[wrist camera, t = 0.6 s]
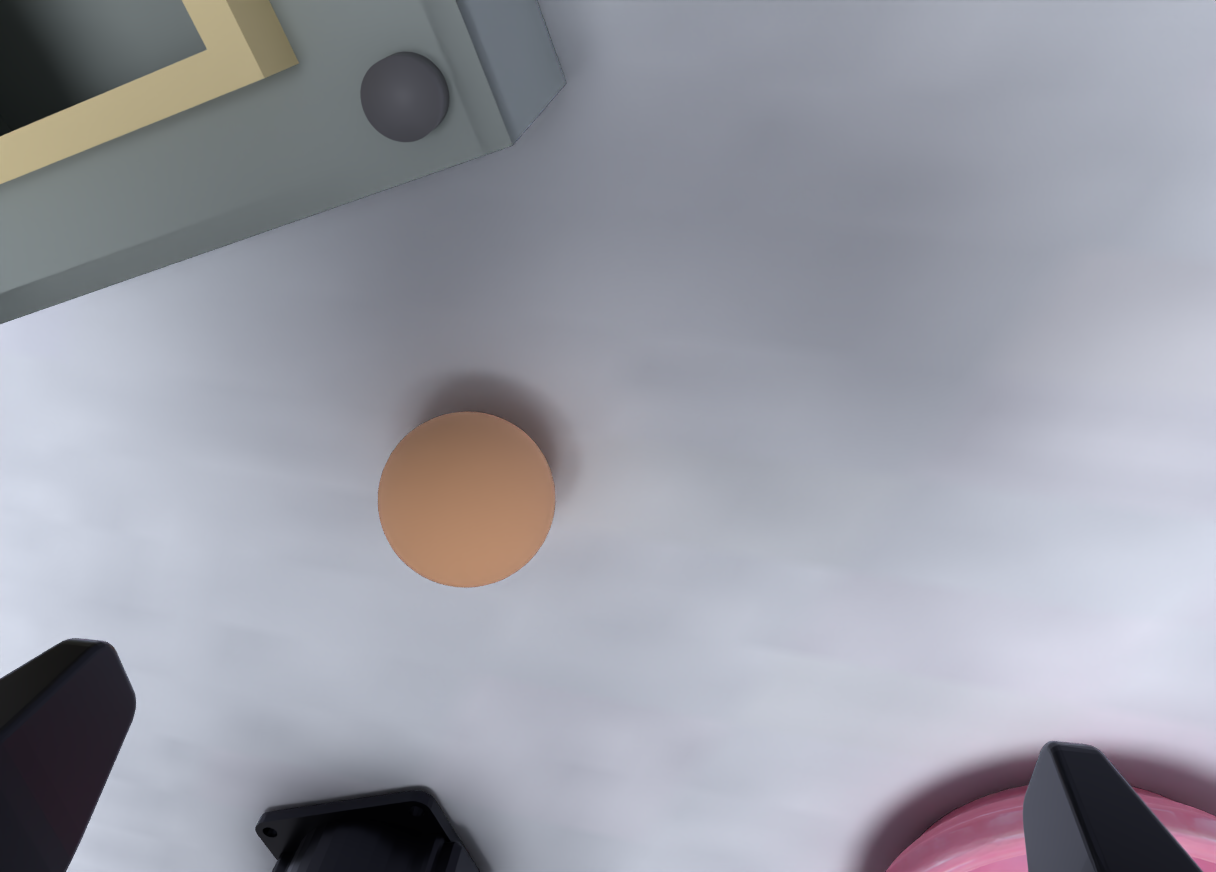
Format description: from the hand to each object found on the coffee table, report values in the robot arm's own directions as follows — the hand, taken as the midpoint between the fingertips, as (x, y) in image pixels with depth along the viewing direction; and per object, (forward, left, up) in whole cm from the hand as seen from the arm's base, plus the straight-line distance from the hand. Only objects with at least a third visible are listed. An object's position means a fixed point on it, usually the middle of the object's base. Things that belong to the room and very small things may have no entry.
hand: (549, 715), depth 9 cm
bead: (-6, -4, -13) cm, 15 cm away
